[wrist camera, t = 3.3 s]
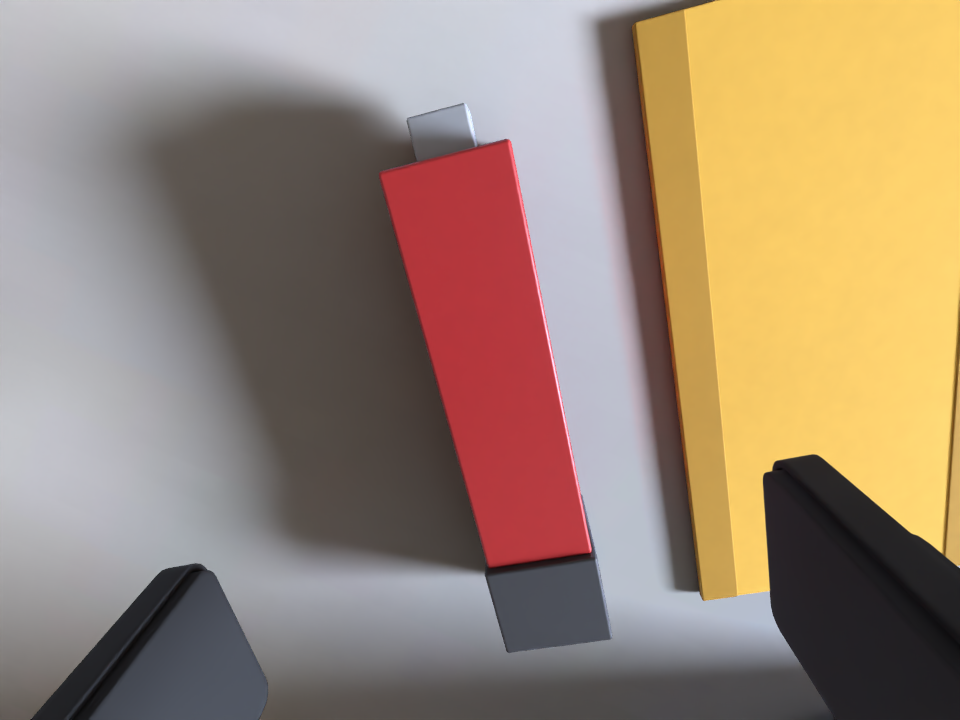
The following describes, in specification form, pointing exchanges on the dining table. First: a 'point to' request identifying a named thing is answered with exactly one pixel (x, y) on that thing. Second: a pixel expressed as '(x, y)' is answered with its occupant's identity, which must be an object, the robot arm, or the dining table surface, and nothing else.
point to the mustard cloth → (808, 257)
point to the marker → (497, 378)
